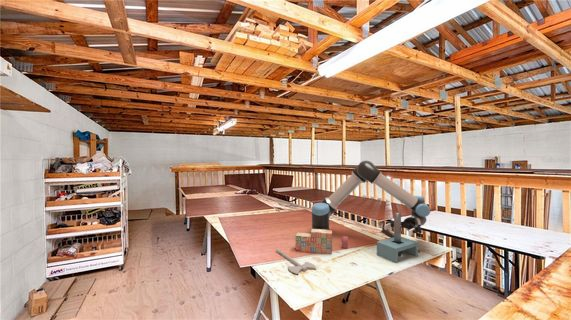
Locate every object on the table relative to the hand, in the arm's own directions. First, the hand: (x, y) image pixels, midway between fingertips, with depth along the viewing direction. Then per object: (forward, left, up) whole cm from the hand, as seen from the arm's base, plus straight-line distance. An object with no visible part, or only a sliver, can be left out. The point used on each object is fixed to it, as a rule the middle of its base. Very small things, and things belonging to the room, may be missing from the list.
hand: (396, 230), depth 136 cm
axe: (-60, 0, -15) cm, 62 cm away
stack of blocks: (-45, +12, -15) cm, 49 cm away
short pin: (-25, +15, -15) cm, 33 cm away
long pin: (+1, +1, -15) cm, 15 cm away
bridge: (+1, +1, -15) cm, 15 cm away
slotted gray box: (+15, +23, -15) cm, 31 cm away
